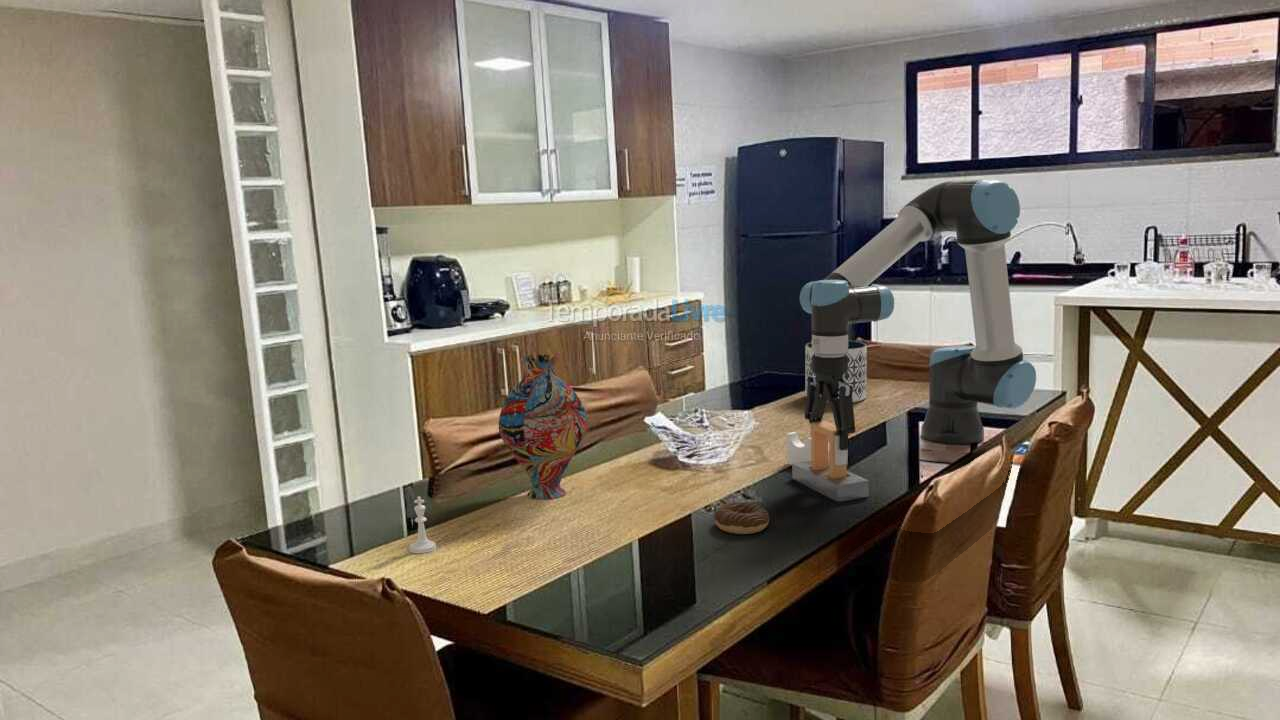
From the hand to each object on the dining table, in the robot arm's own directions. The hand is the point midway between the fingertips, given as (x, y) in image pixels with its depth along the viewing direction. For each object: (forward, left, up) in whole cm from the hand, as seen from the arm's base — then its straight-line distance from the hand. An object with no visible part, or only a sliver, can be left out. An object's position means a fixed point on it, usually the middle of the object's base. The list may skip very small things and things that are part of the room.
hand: (828, 458), depth 204 cm
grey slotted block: (0, 0, -6) cm, 6 cm away
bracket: (-9, -18, -7) cm, 21 cm away
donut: (+28, +13, -7) cm, 32 cm away
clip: (0, 0, -3) cm, 3 cm away
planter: (-50, -74, -7) cm, 90 cm away
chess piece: (+86, -3, -7) cm, 86 cm away
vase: (+56, -24, -7) cm, 61 cm away
